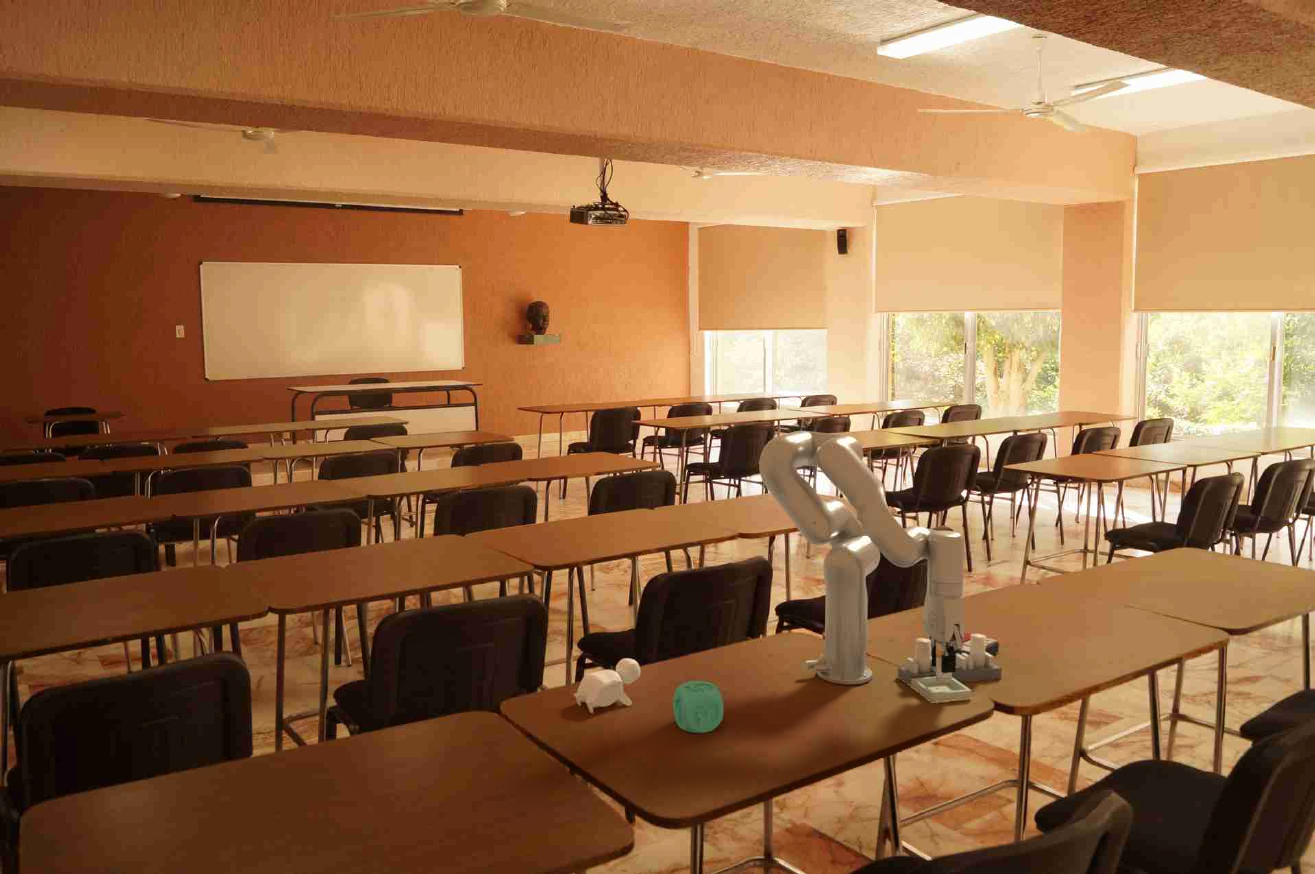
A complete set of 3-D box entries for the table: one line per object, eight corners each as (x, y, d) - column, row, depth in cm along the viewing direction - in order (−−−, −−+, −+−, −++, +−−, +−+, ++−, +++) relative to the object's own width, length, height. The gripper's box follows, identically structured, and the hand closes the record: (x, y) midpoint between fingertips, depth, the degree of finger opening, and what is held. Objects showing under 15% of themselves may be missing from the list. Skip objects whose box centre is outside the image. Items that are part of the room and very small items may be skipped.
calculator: (999, 639, 243) (974, 651, 232) (998, 656, 243) (973, 669, 232) (958, 629, 250) (931, 641, 239) (957, 646, 251) (930, 658, 239)
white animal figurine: (600, 728, 205) (654, 688, 212) (587, 695, 202) (642, 656, 210) (579, 714, 212) (633, 676, 219) (566, 682, 209) (621, 645, 217)
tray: (932, 703, 210) (932, 694, 210) (910, 688, 219) (911, 678, 219) (971, 700, 213) (971, 690, 212) (948, 684, 222) (949, 675, 221)
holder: (910, 687, 220) (911, 646, 219) (897, 677, 226) (899, 637, 225) (1001, 678, 225) (1002, 638, 224) (986, 669, 231) (988, 630, 230)
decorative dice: (672, 720, 202) (672, 683, 201) (707, 715, 204) (708, 678, 203) (687, 736, 194) (687, 697, 193) (723, 730, 197) (724, 692, 196)
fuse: (940, 683, 213) (941, 639, 212) (932, 678, 217) (933, 634, 216) (955, 682, 214) (955, 637, 213) (946, 676, 217) (947, 633, 216)
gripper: (911, 579, 220) (909, 658, 222) (949, 599, 204) (947, 683, 206) (941, 577, 222) (939, 655, 224) (981, 596, 206) (979, 680, 208)
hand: (943, 668), depth 215 cm, fingers closed on fuse, 3 cm apart
